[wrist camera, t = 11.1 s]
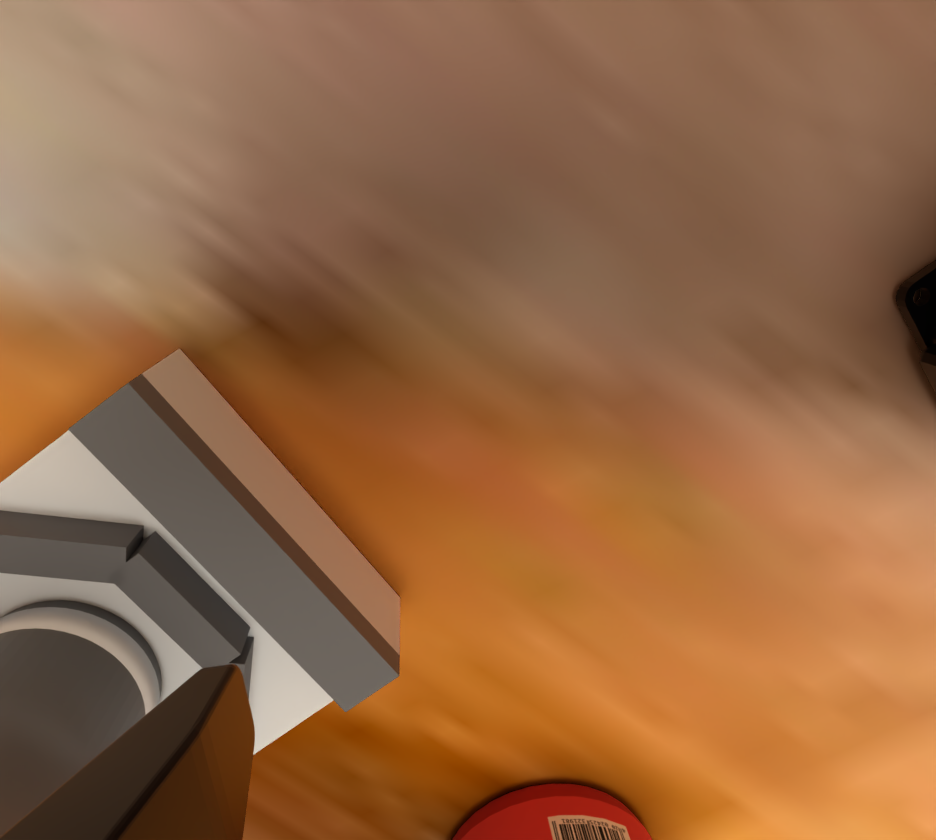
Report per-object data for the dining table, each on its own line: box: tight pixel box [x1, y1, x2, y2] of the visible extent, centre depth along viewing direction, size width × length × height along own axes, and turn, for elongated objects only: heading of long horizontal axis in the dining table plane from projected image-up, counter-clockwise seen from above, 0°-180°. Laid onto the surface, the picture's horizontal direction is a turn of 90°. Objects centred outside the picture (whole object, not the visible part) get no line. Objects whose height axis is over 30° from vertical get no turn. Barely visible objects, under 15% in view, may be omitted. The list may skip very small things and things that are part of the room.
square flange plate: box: [0, 348, 400, 755], centre depth 20 cm, size 13×10×4 cm
